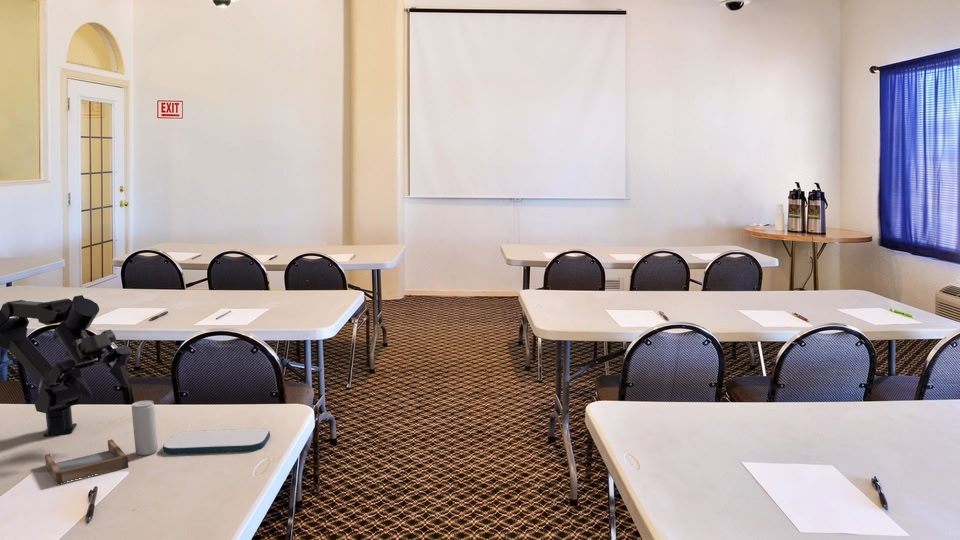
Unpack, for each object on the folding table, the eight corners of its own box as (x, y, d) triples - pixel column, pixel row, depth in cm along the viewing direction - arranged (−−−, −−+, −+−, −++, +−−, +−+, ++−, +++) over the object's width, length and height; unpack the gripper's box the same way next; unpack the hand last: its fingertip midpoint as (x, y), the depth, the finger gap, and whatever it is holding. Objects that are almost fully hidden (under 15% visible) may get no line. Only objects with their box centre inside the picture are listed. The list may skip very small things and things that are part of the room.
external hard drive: (272, 435, 182) (272, 427, 182) (261, 453, 171) (261, 445, 170) (176, 439, 181) (176, 431, 180) (159, 457, 169) (158, 449, 169)
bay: (45, 465, 165) (44, 454, 164) (113, 449, 173) (112, 439, 173) (57, 485, 154) (56, 473, 154) (128, 467, 163) (127, 456, 162)
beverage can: (149, 457, 168) (145, 407, 167) (131, 455, 169) (126, 406, 168) (162, 449, 173) (158, 400, 171) (144, 448, 174) (140, 399, 172)
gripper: (51, 329, 166) (86, 382, 163) (124, 314, 183) (157, 362, 179) (34, 358, 171) (67, 410, 168) (106, 341, 188) (138, 388, 184)
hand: (109, 391), depth 175 cm, fingers open, 9 cm apart
